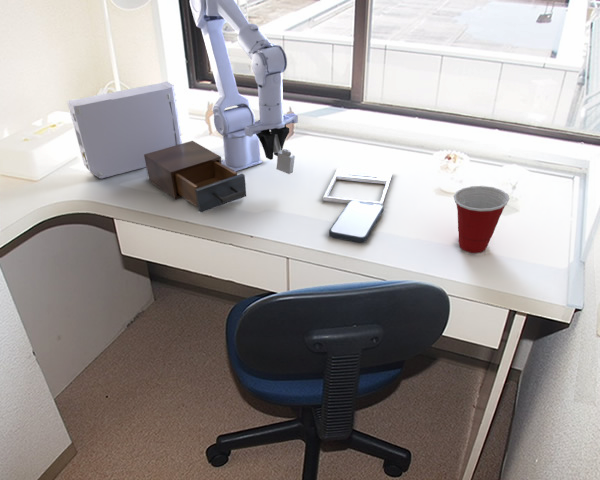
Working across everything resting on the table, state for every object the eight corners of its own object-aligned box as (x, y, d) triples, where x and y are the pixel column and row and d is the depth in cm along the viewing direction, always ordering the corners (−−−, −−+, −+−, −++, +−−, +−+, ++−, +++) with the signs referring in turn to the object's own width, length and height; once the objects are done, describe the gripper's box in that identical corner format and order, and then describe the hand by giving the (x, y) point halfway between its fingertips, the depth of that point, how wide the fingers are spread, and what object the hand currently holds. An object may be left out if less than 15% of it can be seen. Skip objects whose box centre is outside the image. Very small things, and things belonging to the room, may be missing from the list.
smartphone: (365, 245, 121) (385, 211, 132) (365, 239, 120) (385, 205, 131) (326, 237, 124) (349, 205, 135) (327, 231, 123) (349, 199, 134)
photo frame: (392, 171, 147) (382, 202, 133) (392, 175, 148) (382, 206, 134) (338, 166, 150) (323, 196, 136) (338, 170, 151) (323, 200, 137)
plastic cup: (447, 230, 125) (456, 181, 117) (497, 236, 122) (509, 186, 115) (443, 255, 117) (451, 204, 109) (497, 263, 114) (509, 211, 107)
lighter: (293, 172, 138) (296, 141, 134) (289, 174, 137) (292, 142, 132) (270, 163, 141) (273, 132, 137) (266, 165, 140) (269, 134, 135)
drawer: (257, 203, 135) (256, 181, 132) (211, 220, 128) (208, 198, 125) (217, 178, 146) (215, 158, 143) (173, 193, 140) (169, 172, 136)
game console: (186, 157, 160) (176, 86, 148) (93, 181, 148) (73, 106, 136) (178, 150, 164) (167, 81, 152) (86, 174, 152) (66, 100, 140)
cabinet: (223, 183, 146) (220, 156, 142) (175, 199, 139) (170, 172, 134) (196, 166, 155) (192, 140, 151) (149, 180, 148) (143, 154, 143)
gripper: (255, 113, 125) (259, 170, 133) (305, 99, 132) (305, 154, 140) (238, 105, 129) (242, 160, 138) (287, 92, 136) (288, 146, 145)
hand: (273, 157), depth 139 cm, fingers closed on lighter, 2 cm apart
